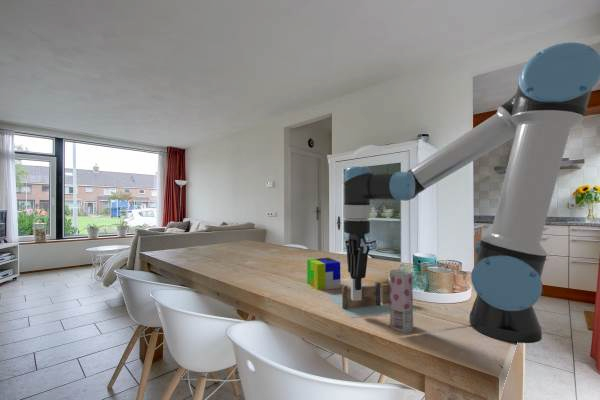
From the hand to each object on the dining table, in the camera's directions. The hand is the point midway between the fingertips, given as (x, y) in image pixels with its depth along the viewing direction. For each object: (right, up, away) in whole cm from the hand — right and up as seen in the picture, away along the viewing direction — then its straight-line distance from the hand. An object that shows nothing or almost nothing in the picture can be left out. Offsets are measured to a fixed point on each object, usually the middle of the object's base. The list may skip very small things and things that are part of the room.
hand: (356, 299), depth 82 cm
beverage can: (+10, -5, -8) cm, 14 cm away
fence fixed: (+14, -4, +9) cm, 17 cm away
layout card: (+6, -5, +10) cm, 13 cm away
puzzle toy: (-7, -6, +31) cm, 32 cm away
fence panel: (+3, -4, +6) cm, 8 cm away
